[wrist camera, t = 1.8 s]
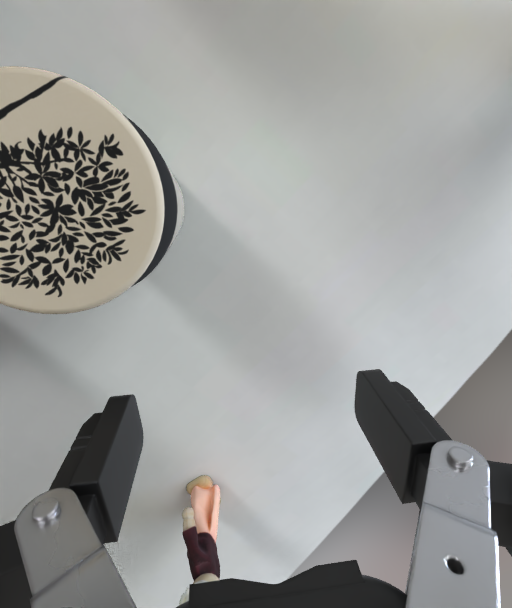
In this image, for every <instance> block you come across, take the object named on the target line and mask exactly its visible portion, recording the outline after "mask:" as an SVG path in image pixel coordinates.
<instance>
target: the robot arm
mask: <svg viewBox="0 0 512 608" xmlns="http://www.w3.org/2000/svg"><path fill="white" fill-rule="evenodd" d="M355 414H356V418H357V421H358V423H359V425H360V427H361V429H362V431H363V432H364V434H365V436H366V438H367V440H368V442H369V443H370V445H371V447H372V449H373V451H374V453H375V454H376V456H377V458H378V460H379V462H380V464H381V465H382V467H383V469H384V471H385V473H386V474H387V477H388V478H389V480H390V482H391V484H392V486H393V488H394V489H395V491H396V493H397V495H398V497H399V498H400V500H401V502H402V504H404V503H411V502H416V504H417V505H418V507H419V509H420V512H419V517H418V523H417V529H416V534H415V540H414V546H413V552H412V558H411V563H410V569H409V575H408V581H407V586H406V591H405V593H403V592H402V591H401V590H399V589H398V588H396V587H394V586H392V585H391V584H389V583H386V582H384V581H382V580H379V579H377V578H373V577H370V576H366V575H361V572H360V570H359V566H358V563H357V561H356V560H351V561H345V562H338V563H331V564H325V565H318V566H315V567H313V568H311V569H309V570H307V571H304V572H302V573H301V574H298V575H296V576H294V577H292V578H290V579H288V580H286V581H284V582H282V583H279V584H266V583H260V582H253V581H246V580H240V579H233V578H230V579H224V580H217V581H210V582H204V583H197V584H190V588H189V601H187V602H185V603H183V604H181V605H179V606H178V607H176V608H501V606H500V581H499V556H498V546H503V547H506V549H507V550H508V552H509V553H510V554H511V556H512V464H507V463H500V462H493V461H487V460H486V459H485V458H484V457H483V456H482V455H481V454H480V453H479V452H478V451H477V450H475V449H474V448H472V447H470V446H468V445H466V444H464V443H461V442H457V441H453V440H452V439H451V438H450V437H449V436H448V435H447V433H446V432H445V431H444V430H443V429H442V428H441V427H440V425H439V424H438V423H437V422H436V420H435V419H434V418H433V417H432V416H431V415H430V413H429V412H428V411H427V410H425V408H424V406H423V405H422V404H421V403H420V402H418V399H417V398H416V397H415V396H414V395H413V393H412V392H411V391H410V390H409V389H407V388H406V387H404V386H403V385H401V384H399V383H398V382H390V381H389V380H388V378H387V377H386V376H385V375H384V373H383V372H382V371H381V370H380V369H376V370H366V371H359V372H358V373H357V379H356V393H355ZM142 446H143V428H142V424H141V419H140V415H139V411H138V406H137V402H136V398H135V396H134V395H133V394H132V395H123V396H113V397H110V398H109V400H108V402H107V404H106V406H105V409H104V411H103V413H95V414H93V415H92V416H91V417H90V418H89V419H88V420H87V421H86V422H85V423H84V424H83V425H82V427H81V429H80V431H79V433H78V435H77V437H76V440H75V441H74V443H73V444H72V446H71V450H70V451H69V452H68V454H67V456H66V458H65V460H64V462H63V464H62V466H61V468H60V469H59V471H58V473H57V475H56V477H55V479H54V481H53V483H52V485H51V487H50V489H49V491H47V492H45V493H43V494H41V495H39V496H37V497H36V498H34V499H33V500H32V501H31V502H29V503H28V504H27V505H26V506H25V507H24V509H23V510H22V511H21V512H20V514H19V515H18V517H17V519H16V520H15V521H12V522H10V523H8V524H5V525H2V526H0V608H137V607H136V605H135V604H134V602H133V600H132V598H131V596H130V594H129V592H128V590H127V588H126V586H125V584H124V582H123V580H122V578H121V576H120V574H119V572H118V570H117V568H116V567H115V565H114V563H113V561H112V559H111V557H110V555H109V553H108V551H107V549H106V548H105V546H104V545H103V544H104V543H111V542H117V541H118V537H119V533H120V529H121V526H122V522H123V518H124V514H125V511H126V507H127V503H128V499H129V496H130V492H131V488H132V484H133V481H134V477H135V473H136V469H137V466H138V462H139V458H140V454H141V451H142Z"/></svg>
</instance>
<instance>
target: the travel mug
mask: <svg viewBox="0 0 512 608" xmlns="http://www.w3.org/2000/svg"><path fill="white" fill-rule="evenodd" d="M183 219H184V199H183V195H182V192H181V189H180V187H179V185H178V183H177V181H176V179H175V178H174V176H173V174H172V173H171V171H170V169H169V168H168V166H167V165H166V163H165V161H164V160H163V158H162V156H161V155H160V153H159V151H158V150H157V148H156V147H155V145H154V144H153V143H152V141H151V140H150V139H149V138H148V136H147V135H146V134H145V133H144V132H143V131H142V130H141V129H140V128H139V127H138V126H137V125H136V124H135V123H134V122H132V121H131V120H130V119H129V118H127V117H126V116H125V115H123V114H122V113H121V112H120V111H119V110H118V109H117V108H115V107H114V106H113V105H112V104H111V103H110V102H108V101H107V100H106V99H105V98H103V97H102V96H100V95H99V94H98V93H96V92H95V91H93V90H91V89H90V88H88V87H86V86H84V85H83V84H81V83H79V82H76V81H74V80H72V79H70V78H68V77H65V76H62V75H59V74H57V73H53V72H49V71H46V70H42V69H36V68H30V67H17V66H10V67H0V303H1V304H3V305H6V306H9V307H12V308H16V309H19V310H24V311H28V312H34V313H42V314H67V313H74V312H80V311H84V310H89V309H92V308H95V307H98V306H100V305H102V304H105V303H107V302H109V301H111V300H113V299H114V298H116V297H118V296H119V295H121V294H122V293H124V292H125V291H126V290H128V289H129V288H130V287H132V286H134V285H135V284H137V283H138V282H140V281H141V280H142V279H144V278H145V277H146V276H147V275H148V274H149V273H150V272H151V271H153V269H154V268H155V267H156V266H157V265H158V263H159V262H160V261H161V259H162V258H163V256H164V255H165V253H166V251H167V250H168V248H169V247H170V245H171V244H172V242H173V241H174V239H175V238H176V236H177V234H178V233H179V231H180V229H181V226H182V223H183Z"/></svg>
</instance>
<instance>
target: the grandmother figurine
mask: <svg viewBox="0 0 512 608" xmlns="http://www.w3.org/2000/svg"><path fill="white" fill-rule="evenodd" d="M212 484H213V483H212V480H211V478H210V477H209V476H206V475H203V476H200V477H198V478H196V479H195V480H193V481H191V482H190V483H189V484H188V485H187V491H188V493H189V494H190V495H191V505H192V508H190V507H187V508H185V509H184V510H183V512H182V517H183V519H184V522H183V538H184V540H185V544H186V546H187V549H188V551H187V557H188V559H189V565H190V570H191V574H192V577H193V579H194V583H193V584H197V583H204V582H210V581H217V580H220V579H219V578H220V564H219V559H218V555H217V547H216V539H217V527H218V515H219V505H220V502H221V498H220V488H219V487H218V485H213V486H212ZM187 601H189V588H187V590H186V592H185V593H184V594H183V595H182V596H181V599H180V603H179V604H180V605H181V604H183V603H185V602H187Z"/></svg>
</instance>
